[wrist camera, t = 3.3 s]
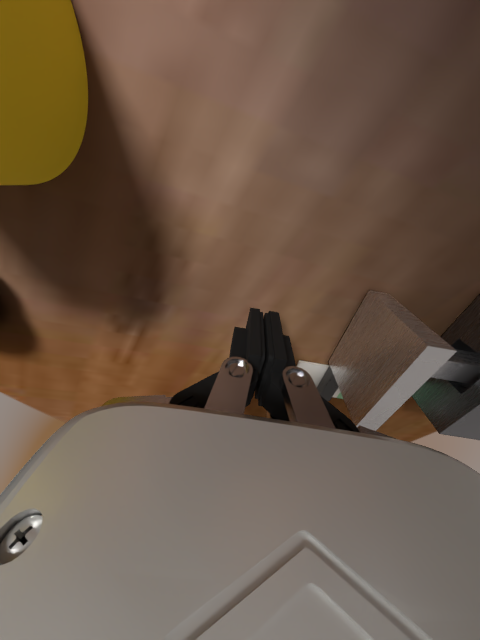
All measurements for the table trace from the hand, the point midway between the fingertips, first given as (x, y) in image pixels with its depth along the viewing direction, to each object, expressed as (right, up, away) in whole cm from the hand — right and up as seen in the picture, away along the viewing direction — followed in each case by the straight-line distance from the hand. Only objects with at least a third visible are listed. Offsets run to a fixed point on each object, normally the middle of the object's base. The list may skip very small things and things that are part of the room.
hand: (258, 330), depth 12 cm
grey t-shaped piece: (+11, -2, +2) cm, 11 cm away
